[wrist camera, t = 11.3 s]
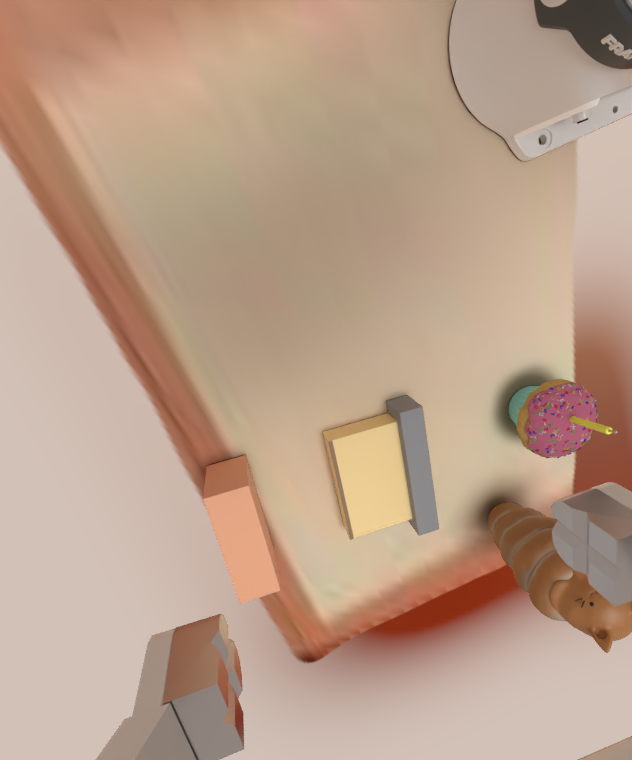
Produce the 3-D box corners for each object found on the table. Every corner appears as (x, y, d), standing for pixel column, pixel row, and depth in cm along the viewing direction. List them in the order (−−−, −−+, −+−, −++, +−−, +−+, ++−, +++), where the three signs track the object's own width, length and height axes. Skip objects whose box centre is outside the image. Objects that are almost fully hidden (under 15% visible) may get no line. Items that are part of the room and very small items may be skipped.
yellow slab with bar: (409, 394, 43) (425, 405, 40) (426, 508, 48) (441, 528, 44) (320, 419, 42) (328, 434, 38) (346, 535, 47) (355, 557, 43)
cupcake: (483, 396, 45) (568, 440, 34) (546, 355, 46) (651, 385, 34) (509, 452, 48) (595, 510, 37) (568, 413, 49) (671, 459, 37)
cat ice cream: (512, 468, 49) (662, 576, 32) (536, 509, 52) (687, 630, 35) (453, 511, 49) (572, 643, 32) (481, 551, 52) (604, 692, 35)
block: (245, 454, 41) (248, 485, 35) (273, 549, 45) (280, 590, 39) (206, 466, 41) (203, 499, 35) (238, 560, 44) (239, 604, 39)
